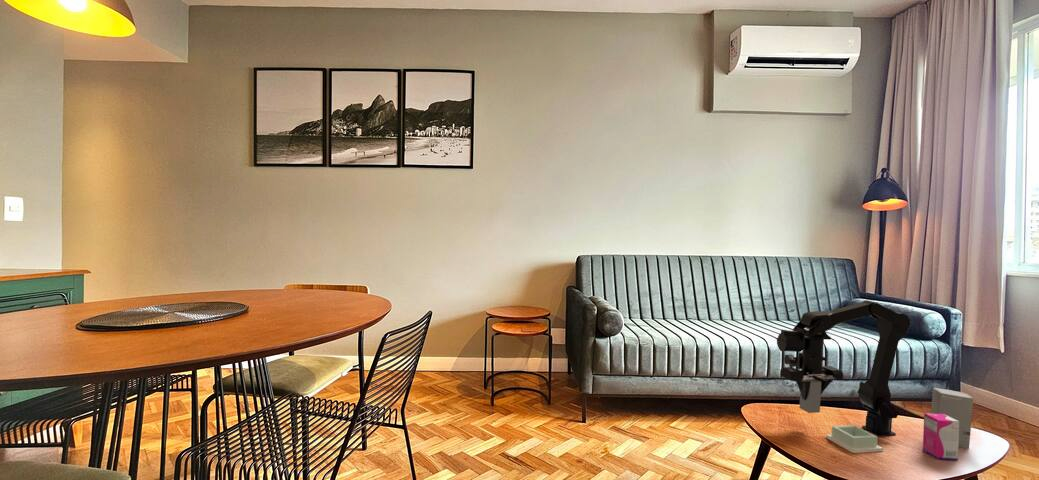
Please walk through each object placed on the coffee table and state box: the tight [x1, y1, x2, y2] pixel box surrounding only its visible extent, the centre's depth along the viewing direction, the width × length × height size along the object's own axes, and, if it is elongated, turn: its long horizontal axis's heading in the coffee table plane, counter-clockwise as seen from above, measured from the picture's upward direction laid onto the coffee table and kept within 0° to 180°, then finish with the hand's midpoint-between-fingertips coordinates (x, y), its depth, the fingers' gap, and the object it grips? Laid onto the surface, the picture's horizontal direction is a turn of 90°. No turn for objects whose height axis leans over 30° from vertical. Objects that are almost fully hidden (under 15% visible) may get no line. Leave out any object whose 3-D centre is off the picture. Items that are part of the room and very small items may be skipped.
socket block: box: [825, 424, 884, 454], centre depth 145 cm, size 10×10×4 cm
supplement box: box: [922, 412, 959, 461], centre depth 139 cm, size 6×6×12 cm
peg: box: [799, 377, 822, 414], centre depth 155 cm, size 4×4×10 cm
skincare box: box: [930, 387, 974, 450], centre depth 148 cm, size 8×7×16 cm
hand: (810, 399), depth 155 cm, fingers closed on peg, 4 cm apart
